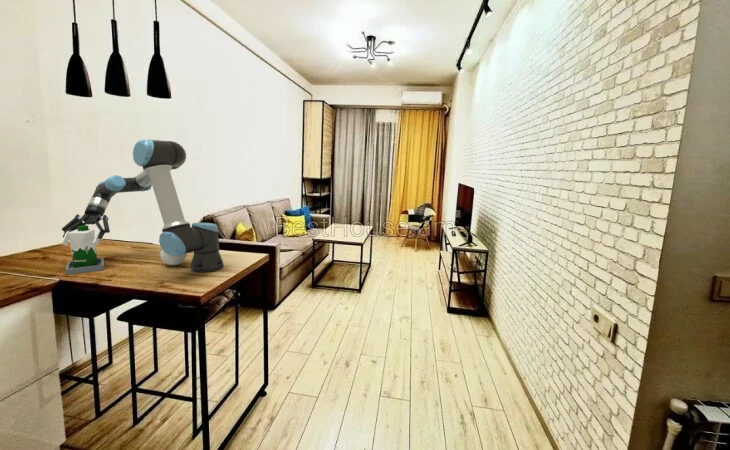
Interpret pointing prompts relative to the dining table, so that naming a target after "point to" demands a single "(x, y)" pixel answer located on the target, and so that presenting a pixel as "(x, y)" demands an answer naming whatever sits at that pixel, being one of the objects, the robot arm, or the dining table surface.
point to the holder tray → (71, 270)
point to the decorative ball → (172, 258)
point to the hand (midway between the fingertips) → (79, 244)
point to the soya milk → (83, 247)
